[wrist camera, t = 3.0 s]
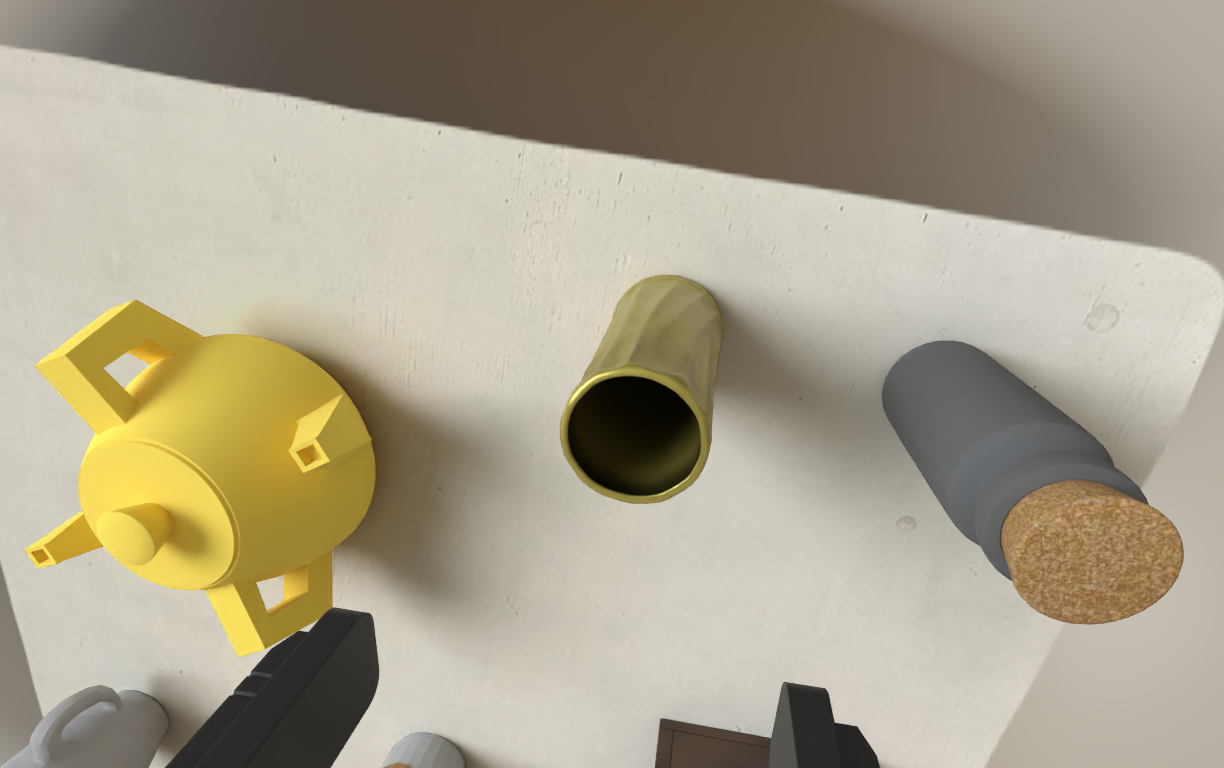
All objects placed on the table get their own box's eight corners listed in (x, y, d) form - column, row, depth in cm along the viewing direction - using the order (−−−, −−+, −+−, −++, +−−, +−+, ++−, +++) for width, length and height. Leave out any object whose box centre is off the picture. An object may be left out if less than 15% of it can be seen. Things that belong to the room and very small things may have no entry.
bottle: (1015, 347, 31) (1245, 500, 18) (978, 448, 34) (1159, 656, 20) (896, 331, 32) (1029, 467, 18) (868, 431, 34) (968, 620, 20)
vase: (724, 378, 35) (726, 517, 21) (617, 381, 36) (557, 516, 23) (720, 270, 33) (720, 351, 19) (607, 277, 34) (535, 357, 21)
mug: (191, 761, 56) (90, 876, 47) (103, 734, 56) (-12, 843, 47) (179, 662, 51) (65, 770, 42) (84, 635, 52) (-47, 735, 43)
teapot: (184, 270, 38) (-37, 320, 27) (429, 380, 38) (308, 475, 27) (160, 483, 44) (-26, 593, 33) (369, 577, 44) (252, 719, 33)
